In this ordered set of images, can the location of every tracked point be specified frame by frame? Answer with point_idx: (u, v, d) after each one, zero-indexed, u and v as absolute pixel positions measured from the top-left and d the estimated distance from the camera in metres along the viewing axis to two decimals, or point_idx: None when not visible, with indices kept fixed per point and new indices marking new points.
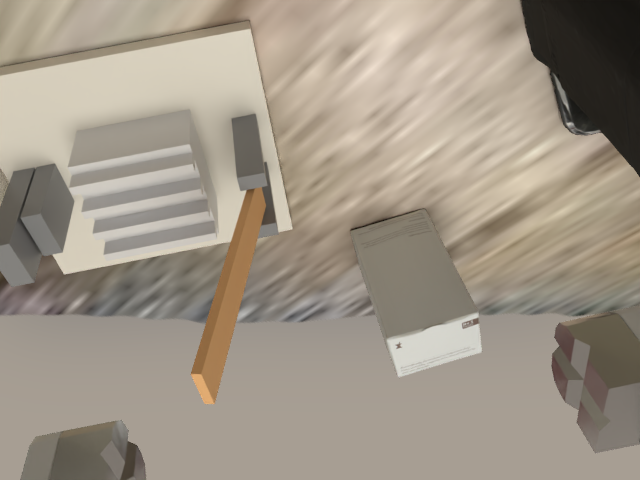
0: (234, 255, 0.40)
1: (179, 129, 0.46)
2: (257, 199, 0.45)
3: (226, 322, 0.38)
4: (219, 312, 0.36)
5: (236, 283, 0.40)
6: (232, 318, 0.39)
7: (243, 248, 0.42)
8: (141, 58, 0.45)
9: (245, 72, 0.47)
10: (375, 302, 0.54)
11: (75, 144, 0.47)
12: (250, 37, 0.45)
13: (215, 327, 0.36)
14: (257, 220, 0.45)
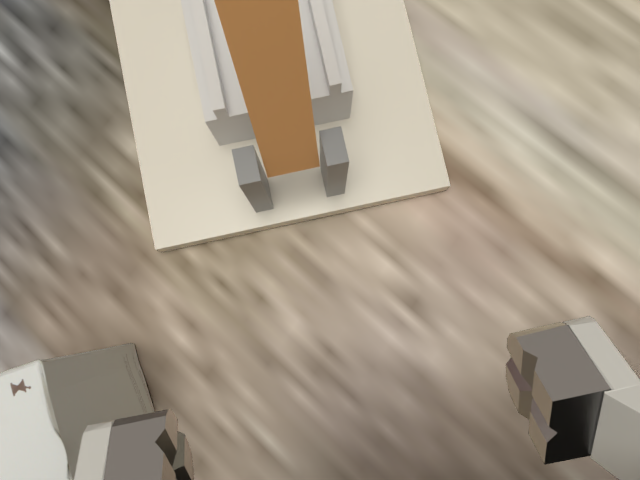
0: None
1: None
2: (299, 155, 0.33)
3: (258, 4, 0.22)
4: None
5: (273, 58, 0.25)
6: (240, 27, 0.23)
7: (290, 97, 0.28)
8: (411, 71, 0.42)
9: (398, 180, 0.41)
10: (77, 355, 0.31)
11: None
12: (440, 185, 0.41)
13: None
14: (277, 148, 0.32)
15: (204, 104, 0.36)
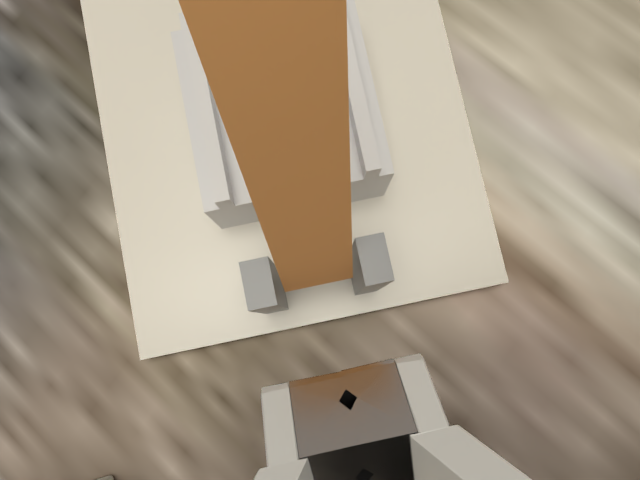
0: (350, 186, 0.19)
1: None
2: (328, 270, 0.25)
3: (288, 115, 0.14)
4: (345, 94, 0.14)
5: (304, 176, 0.17)
6: (259, 144, 0.15)
7: (323, 216, 0.20)
8: (459, 137, 0.34)
9: (443, 275, 0.33)
10: None
11: None
12: (496, 282, 0.33)
13: (343, 64, 0.13)
14: (300, 265, 0.24)
15: (203, 189, 0.28)
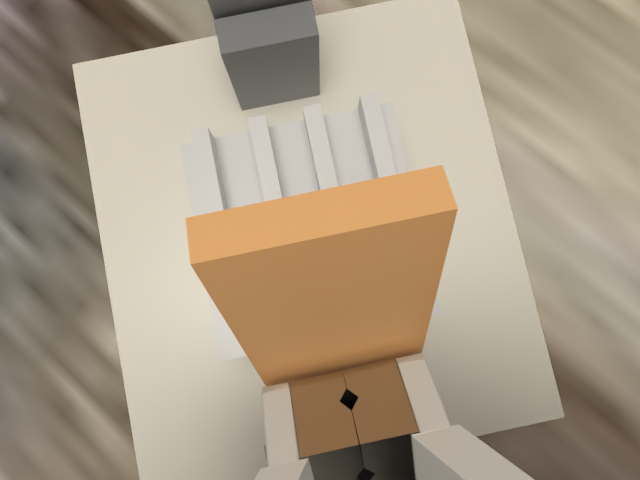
0: None
1: None
2: None
3: (344, 359, 0.11)
4: (421, 336, 0.11)
5: None
6: None
7: None
8: (506, 248, 0.30)
9: (490, 409, 0.29)
10: None
11: None
12: (550, 417, 0.29)
13: (425, 314, 0.10)
14: None
15: (219, 333, 0.24)
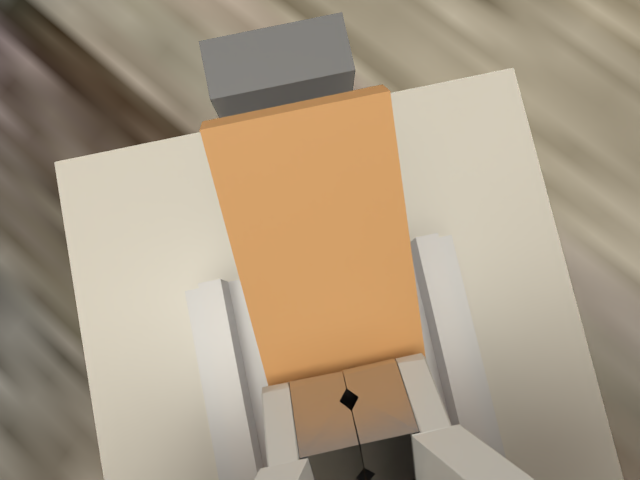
0: None
1: None
2: None
3: (346, 360, 0.11)
4: (417, 329, 0.11)
5: None
6: None
7: None
8: (582, 390, 0.24)
9: None
10: None
11: None
12: None
13: (408, 277, 0.11)
14: None
15: None
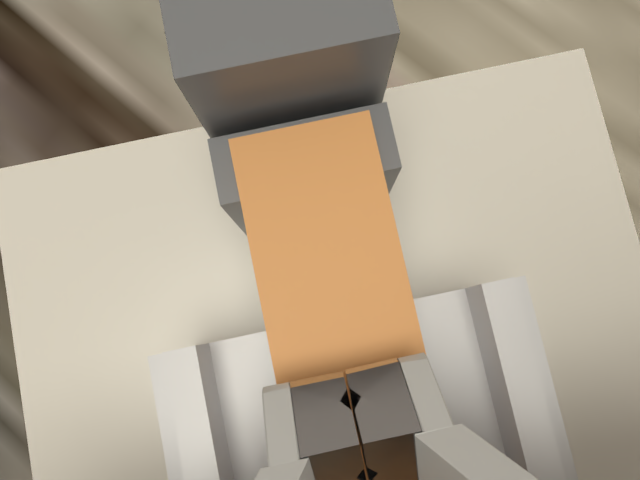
0: None
1: None
2: None
3: (348, 351, 0.12)
4: (413, 318, 0.12)
5: None
6: None
7: None
8: None
9: None
10: None
11: None
12: None
13: (399, 264, 0.12)
14: None
15: None
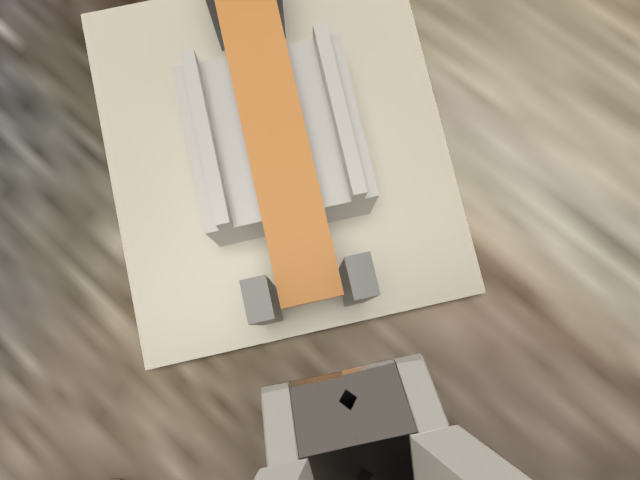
0: (304, 122, 0.29)
1: None
2: (315, 265, 0.28)
3: (255, 44, 0.30)
4: (282, 32, 0.30)
5: (272, 103, 0.29)
6: (243, 67, 0.30)
7: (292, 158, 0.29)
8: (439, 159, 0.36)
9: (426, 287, 0.35)
10: None
11: None
12: (474, 292, 0.35)
13: (276, 12, 0.30)
14: (287, 246, 0.28)
15: (204, 212, 0.31)
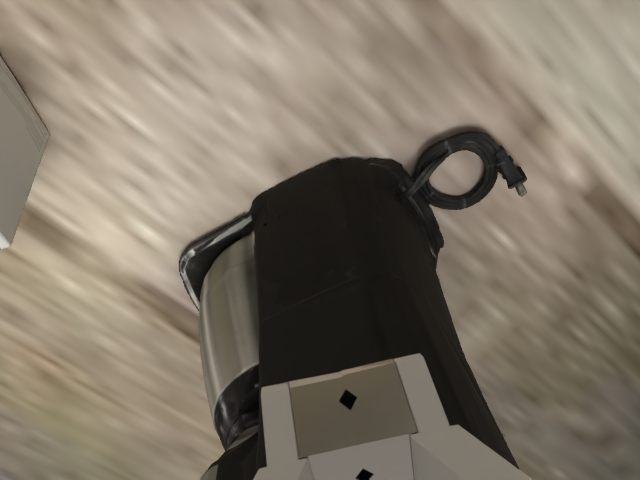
0: None
1: None
2: None
3: None
4: None
5: None
6: None
7: None
8: None
9: None
10: None
11: None
12: None
13: None
14: None
15: None
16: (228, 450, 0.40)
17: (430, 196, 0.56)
